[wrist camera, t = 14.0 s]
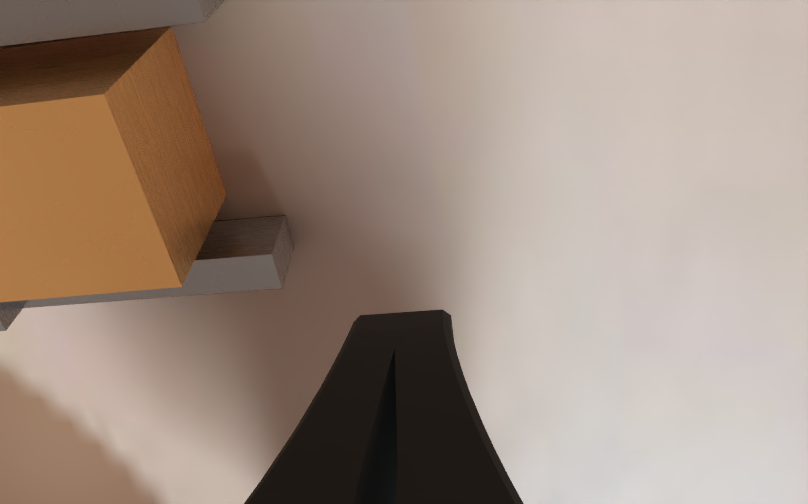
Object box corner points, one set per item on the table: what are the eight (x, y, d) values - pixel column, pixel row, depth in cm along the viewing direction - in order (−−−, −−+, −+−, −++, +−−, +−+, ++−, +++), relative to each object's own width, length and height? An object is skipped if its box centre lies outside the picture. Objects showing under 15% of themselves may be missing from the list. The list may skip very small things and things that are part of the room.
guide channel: (213, -56, 17) (174, -23, 14) (293, 248, 22) (274, 311, 19) (-151, -8, 18) (-246, 31, 15) (6, 271, 23) (-46, 334, 20)
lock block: (172, 24, 18) (103, 94, 14) (227, 192, 21) (182, 286, 17) (-42, 53, 19) (-161, 125, 15) (39, 211, 21) (-44, 306, 18)
